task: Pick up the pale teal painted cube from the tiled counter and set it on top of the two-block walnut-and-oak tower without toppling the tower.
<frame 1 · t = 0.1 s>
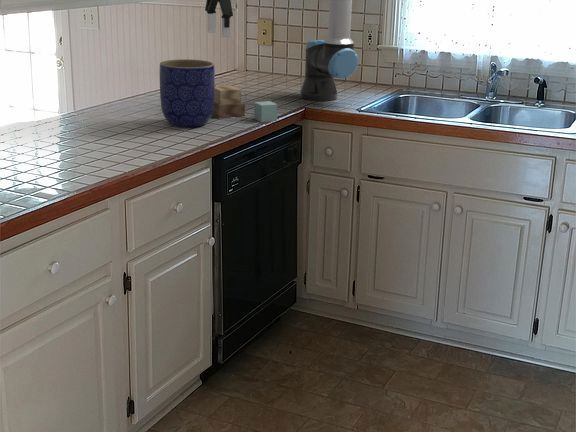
hand: (218, 34, 288), 28 cm above the worktop, fingers open, 13 cm apart
tower top: (226, 102, 292), point 5 cm above the worktop
planter: (187, 124, 278), on the worktop
teal cube: (265, 120, 288), on the worktop
tower base: (226, 115, 294), on the worktop
flower pot: (203, 109, 302), on the worktop
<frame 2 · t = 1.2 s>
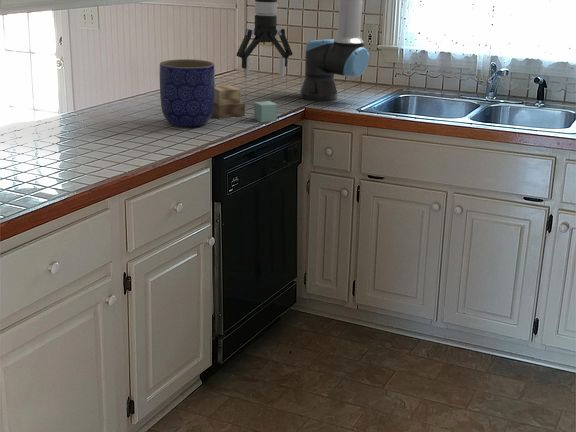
hand: (264, 77, 283), 15 cm above the worktop, fingers open, 13 cm apart
tower top: (225, 101, 292), point 5 cm above the worktop, touching tower base
tower base: (226, 115, 294), on the worktop, touching tower top
everything else where it was.
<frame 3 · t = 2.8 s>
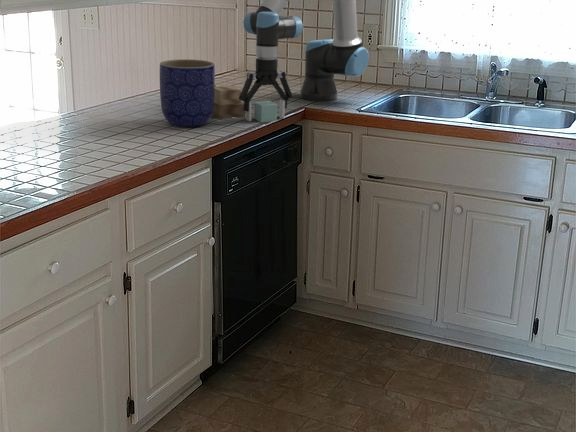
hand: (265, 119, 288), 0 cm above the worktop, fingers open, 12 cm apart
nothing on the worktop moved.
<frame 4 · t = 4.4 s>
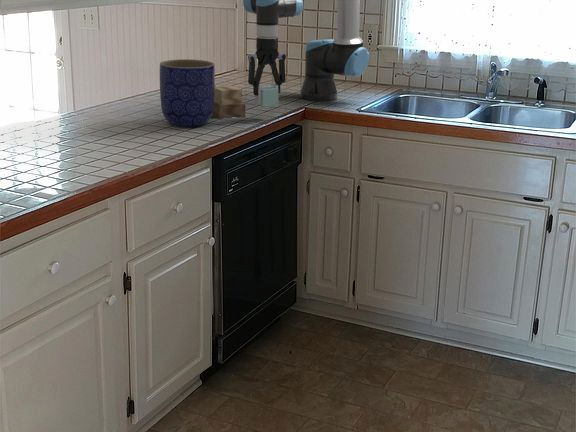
hand: (266, 103, 287), 6 cm above the worktop, fingers closed on teal cube, 6 cm apart
teal cube: (266, 104, 287), point 5 cm above the worktop, touching gripper
everything else where it was.
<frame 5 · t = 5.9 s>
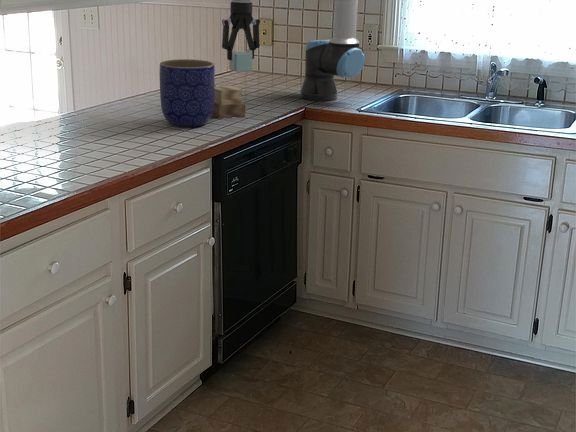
hand: (240, 68, 286), 17 cm above the worktop, fingers closed on teal cube, 6 cm apart
teal cube: (240, 70, 286), point 17 cm above the worktop, touching gripper
everything else where it was.
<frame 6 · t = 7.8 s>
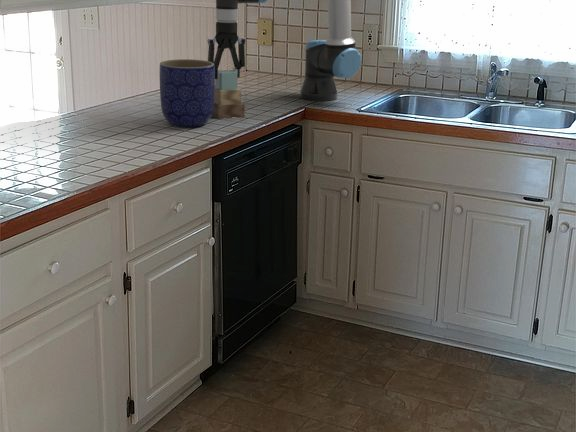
hand: (226, 87, 290), 10 cm above the worktop, fingers closed on teal cube, 6 cm apart
teal cube: (226, 88, 291), point 10 cm above the worktop, touching gripper
everything else where it was.
when the fingers open (10 cm above the worktop, at t = 7.9 s): teal cube stays where it is, resting on tower top.
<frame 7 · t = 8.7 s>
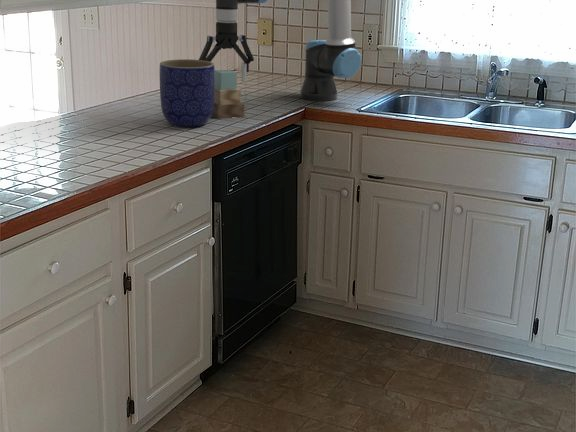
hand: (226, 82, 290), 12 cm above the worktop, fingers open, 13 cm apart
tower top: (225, 102, 292), point 5 cm above the worktop, touching teal cube, tower base
teal cube: (225, 88, 291), point 10 cm above the worktop, touching tower top
everything else where it was.
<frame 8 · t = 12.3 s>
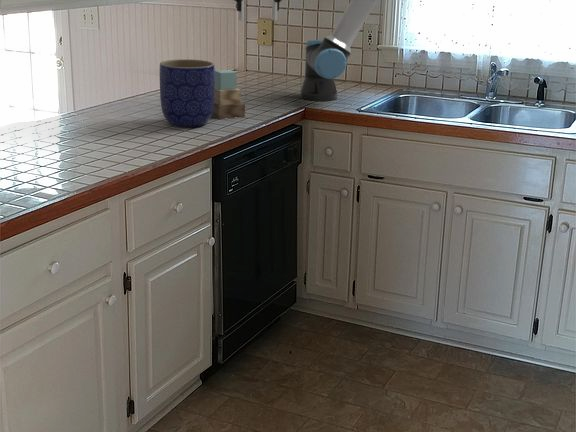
hand: (257, 20, 302), 32 cm above the worktop, fingers open, 13 cm apart
tower top: (225, 102, 291), point 5 cm above the worktop, touching tower base
teal cube: (225, 88, 290), point 10 cm above the worktop
everything else where it was.
at the end: teal cube 0.6 cm from the tower top (horizontally); teal cube point 9.7 cm above the worktop; tower top tilted 0° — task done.
